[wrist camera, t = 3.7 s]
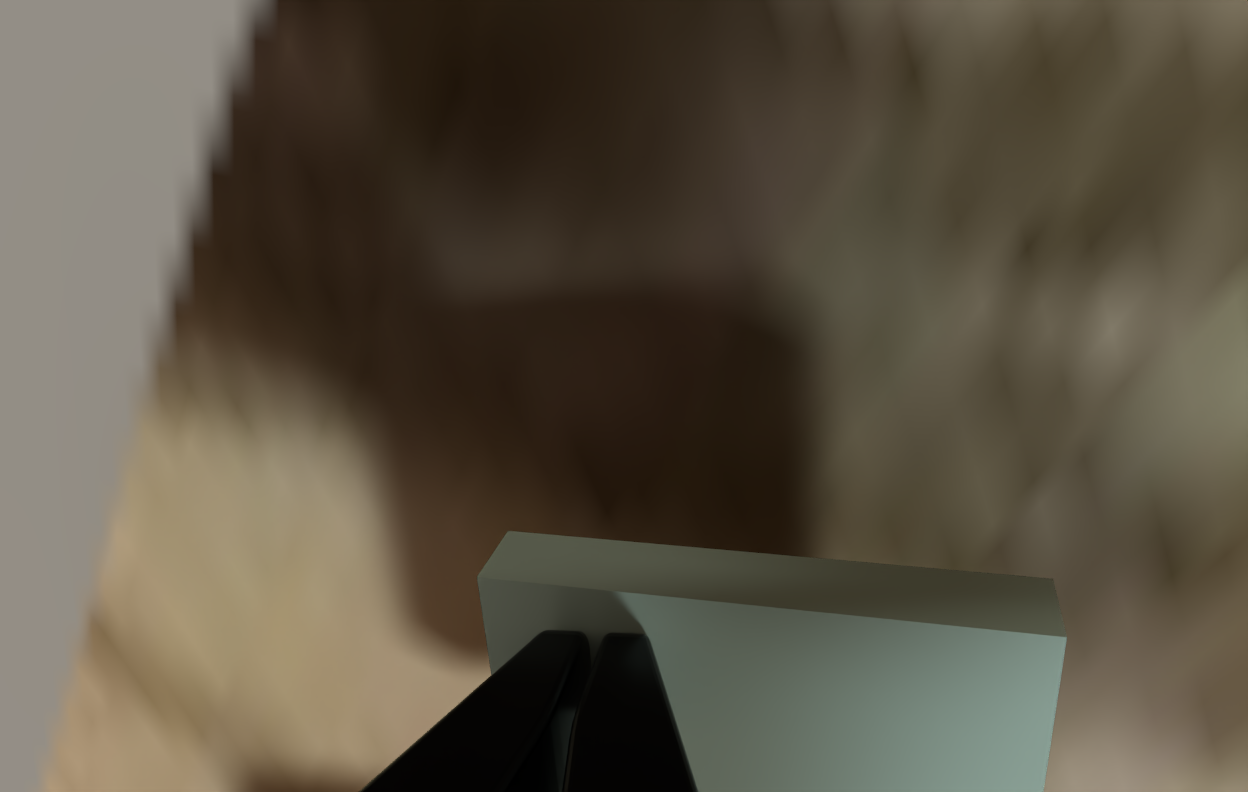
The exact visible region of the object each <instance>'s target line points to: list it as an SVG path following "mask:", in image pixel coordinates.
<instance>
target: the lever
mask: <svg viewBox="0 0 1248 792" xmlns="http://www.w3.org/2000/svg"><path fill="white" fill-rule="evenodd" d="M477 581H478V588H479V595H480V601H481V608H482V615H483V622H484V628H485V635H486V642H487V648H488V655H489V662H490V668H491V675H492V674H493V673H494V672H496V671H497V670H498V669H499V668H500V667H501V666H502V665H504V664H505V663H506V662H507V661H508V660H509V659H510V658H511V657H513V656H514V655H515V654H516V653H517V652H518V651H519V650H521V649H522V648H523V647H524V646H525V645H526V644H527V643H529V642H530V641H531V640H532V639H533V638H534V637H535V636H536V635H538V634H539V633H540V632H542V631H544V630H568V631H581V632H583V633H584V634H585V635H586V636H587V638H588V641H589V646H590V656H591V666H592V665H593V663H594V660H595V657H596V655H597V652H598V649H599V647H600V644H601V641H602V639H603V637H604V636H605V635H606V634H608V633H612V632H614V633H638V634H645V635H646V636H648V638H649V639H650V641H651V644H652V647H653V651H654V654H655V657H656V660H657V663H658V666H659V669H660V673H661V676H662V679H663V682H664V685H665V688H666V691H667V695H668V698H669V701H670V704H671V707H672V710H673V713H674V716H675V720H676V723H677V726H678V729H679V732H680V735H681V738H682V742H683V745H684V748H685V751H686V754H687V757H688V760H689V764H690V767H691V770H692V773H693V776H694V779H695V782H696V786H697V789H698V792H1043V791H1044V784H1045V778H1046V771H1047V765H1048V758H1049V752H1050V745H1051V738H1052V732H1053V725H1054V719H1055V712H1056V706H1057V699H1058V692H1059V686H1060V679H1061V673H1062V666H1063V660H1064V653H1065V646H1066V640H1067V636H1066V632H1065V627H1064V623H1063V619H1062V615H1061V611H1060V607H1059V602H1058V598H1057V594H1056V590H1055V586H1054V581H1053V579H1049V578H1037V577H1026V576H1015V575H1003V574H992V573H981V572H969V571H958V570H947V569H935V568H924V567H913V566H901V565H890V564H879V563H867V562H856V561H845V560H833V559H822V558H811V557H799V556H788V555H777V554H765V553H754V552H743V551H731V550H720V549H709V548H697V547H686V546H675V545H663V544H652V543H641V542H629V541H618V540H607V539H595V538H584V537H573V536H561V535H550V534H539V533H527V532H516V531H507V533H506V534H505V536H504V537H503V539H502V540H501V542H500V543H499V545H498V546H497V548H496V549H495V551H494V552H493V554H492V555H491V557H490V558H489V560H488V561H487V563H486V564H485V566H484V567H483V569H482V570H481V572H480V573H479V575H478V576H477Z"/></svg>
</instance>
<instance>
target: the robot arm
mask: <svg viewBox="0 0 1248 792" xmlns="http://www.w3.org/2000/svg"><path fill="white" fill-rule="evenodd" d="M359 792H698V789H697V786H696V782H695V779H694V776H693V773H692V770H691V767H690V764H689V760H688V757H687V754H686V751H685V748H684V745H683V742H682V738H681V735H680V732H679V729H678V726H677V723H676V720H675V716H674V713H673V710H672V707H671V704H670V701H669V698H668V695H667V691H666V688H665V685H664V682H663V679H662V676H661V673H660V669H659V666H658V663H657V660H656V657H655V654H654V651H653V647H652V644H651V641H650V639H649V638H648V636H646V635H645V634H638V633H614V632H612V633H608V634H606V635H605V636H604V637H603V639H602V641H601V644H600V647H599V649H598V652H597V655H596V657H595V660H594V663H593V665H592V666H591V656H590V646H589V641H588V638H587V636H586V635H585V634H584V633H583V632H581V631H568V630H544V631H542V632H540V633H539V634H538V635H536V636H535V637H534V638H533V639H532V640H531V641H530V642H529V643H527V644H526V645H525V646H524V647H523V648H522V649H521V650H519V651H518V652H517V653H516V654H515V655H514V656H513V657H511V658H510V659H509V660H508V661H507V662H506V663H505V664H504V665H502V666H501V667H500V668H499V669H498V670H497V671H496V672H494V673H493V674H492V675H491V676H490V677H489V678H488V679H487V680H485V681H484V682H483V683H482V684H481V685H480V686H479V687H477V688H476V689H475V690H474V691H473V692H472V693H471V694H469V695H468V696H467V697H466V698H465V699H464V700H463V701H462V702H460V703H459V704H458V705H457V706H456V707H455V708H454V709H452V710H451V711H450V712H449V713H448V714H447V715H446V716H445V717H443V718H442V719H441V720H440V721H439V722H438V723H437V724H435V725H434V726H433V727H432V728H431V729H430V730H429V731H427V732H426V733H425V734H424V735H423V736H422V737H421V738H420V739H418V740H417V741H416V742H415V743H414V744H413V745H412V746H410V747H409V748H408V749H407V750H406V751H405V752H404V753H402V754H401V755H400V756H399V757H398V758H397V759H396V760H395V761H393V762H392V763H391V764H390V765H389V766H388V767H387V768H385V769H384V770H383V771H382V772H381V773H380V774H379V775H378V776H376V777H375V778H374V779H373V780H372V781H371V782H370V783H368V784H367V785H366V786H365V787H364V788H363V789H362V790H360V791H359Z"/></svg>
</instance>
